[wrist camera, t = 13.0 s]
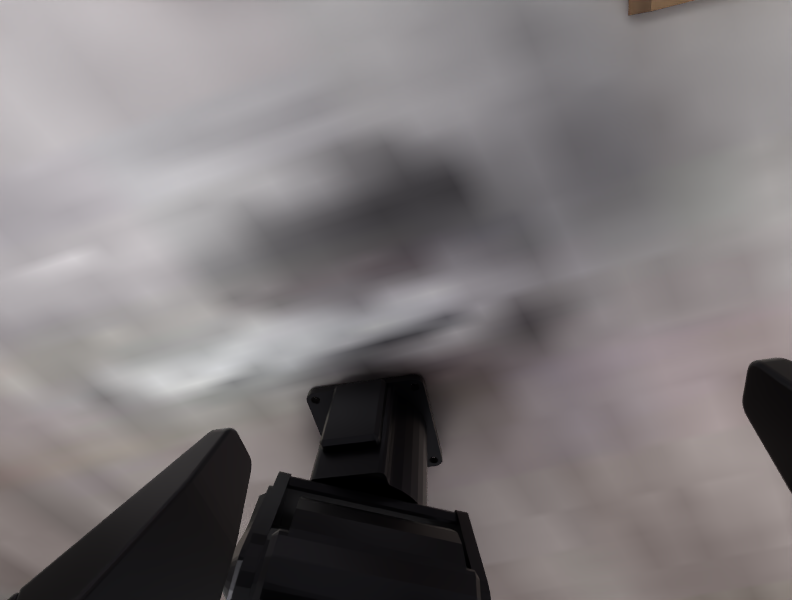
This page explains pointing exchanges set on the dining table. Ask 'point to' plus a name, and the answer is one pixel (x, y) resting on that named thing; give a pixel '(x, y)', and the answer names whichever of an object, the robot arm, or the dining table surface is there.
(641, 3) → the tower base
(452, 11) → the dining table surface
